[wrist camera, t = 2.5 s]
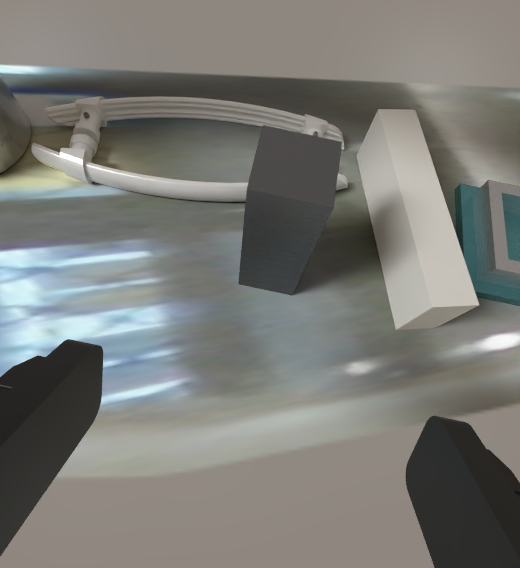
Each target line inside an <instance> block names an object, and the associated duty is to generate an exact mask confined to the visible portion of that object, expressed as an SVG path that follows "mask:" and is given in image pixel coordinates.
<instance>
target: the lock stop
mask: <svg viewBox="0 0 520 568" xmlns="http://www.w3.org/2000/svg"><path fill="white" fill-rule="evenodd" d="M341 146H342V142H341V141H336V140H332V139H327V138H322V137H318V136H313V135H308V134H303V133H299V132H294V131H289V130H285V129H280V128H275V127H270V126H266V125H263V126H262V130H261V134H260V138H259V142H258V146H257V150H256V154H255V158H254V162H253V166H252V170H251V174H250V178H249V182H248V186H247V193H246V204H245V216H244V227H243V238H242V250H241V261H240V272H239V284H240V285H245V286H250V287H255V288H260V289H264V290H269V291H274V292H279V293H284V294H288V295H292V294H293V292H294V290H295V288H296V286H297V284H298V282H299V280H300V278H301V275H302V273H303V271H304V269H305V267H306V265H307V263H308V261H309V259H310V256H311V254H312V252H313V250H314V248H315V246H316V244H317V242H318V240H319V237H320V235H321V233H322V231H323V229H324V227H325V225H326V223H327V221H328V218H329V216H330V214H331V212H332V210H333V208H334V201H335V193H336V185H337V177H338V170H339V162H340V154H341Z"/></svg>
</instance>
